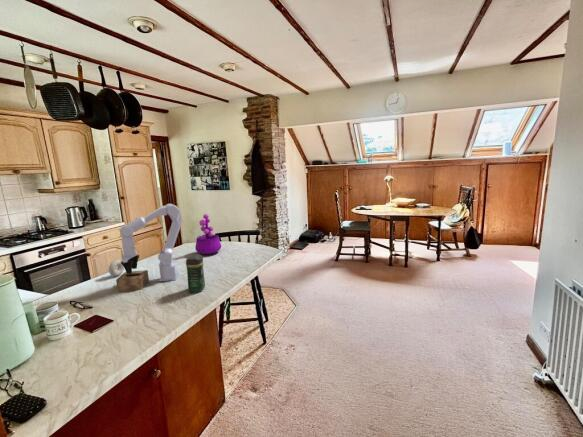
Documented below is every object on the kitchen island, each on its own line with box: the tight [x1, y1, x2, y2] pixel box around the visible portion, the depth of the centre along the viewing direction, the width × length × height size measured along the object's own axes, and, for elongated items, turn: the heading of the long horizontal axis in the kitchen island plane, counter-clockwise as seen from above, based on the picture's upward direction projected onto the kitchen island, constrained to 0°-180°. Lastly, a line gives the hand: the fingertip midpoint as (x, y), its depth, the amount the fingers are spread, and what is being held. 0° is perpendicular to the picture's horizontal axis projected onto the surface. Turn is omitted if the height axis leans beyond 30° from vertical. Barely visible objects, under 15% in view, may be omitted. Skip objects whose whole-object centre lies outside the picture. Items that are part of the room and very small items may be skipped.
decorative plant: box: [195, 213, 222, 255], centre depth 217 cm, size 19×18×30 cm
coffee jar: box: [185, 253, 206, 294], centre depth 152 cm, size 10×8×19 cm
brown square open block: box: [115, 269, 150, 292], centre depth 160 cm, size 12×12×6 cm
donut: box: [108, 259, 125, 277], centre depth 176 cm, size 10×4×10 cm, turn 166°
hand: (132, 270), depth 159 cm, fingers open, 7 cm apart
